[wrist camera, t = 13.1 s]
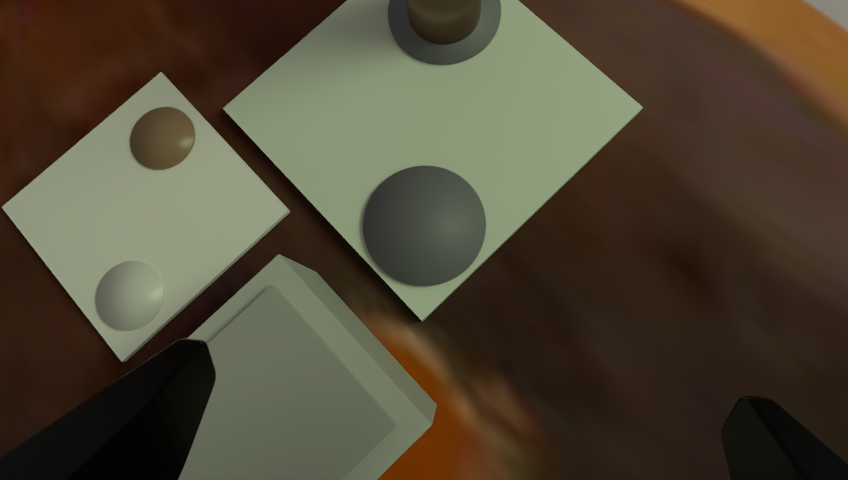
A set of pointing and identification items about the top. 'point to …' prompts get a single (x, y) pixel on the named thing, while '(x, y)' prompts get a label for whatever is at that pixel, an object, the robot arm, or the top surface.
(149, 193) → the card
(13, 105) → the top surface
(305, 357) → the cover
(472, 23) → the pin
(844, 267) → the top surface
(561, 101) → the board
